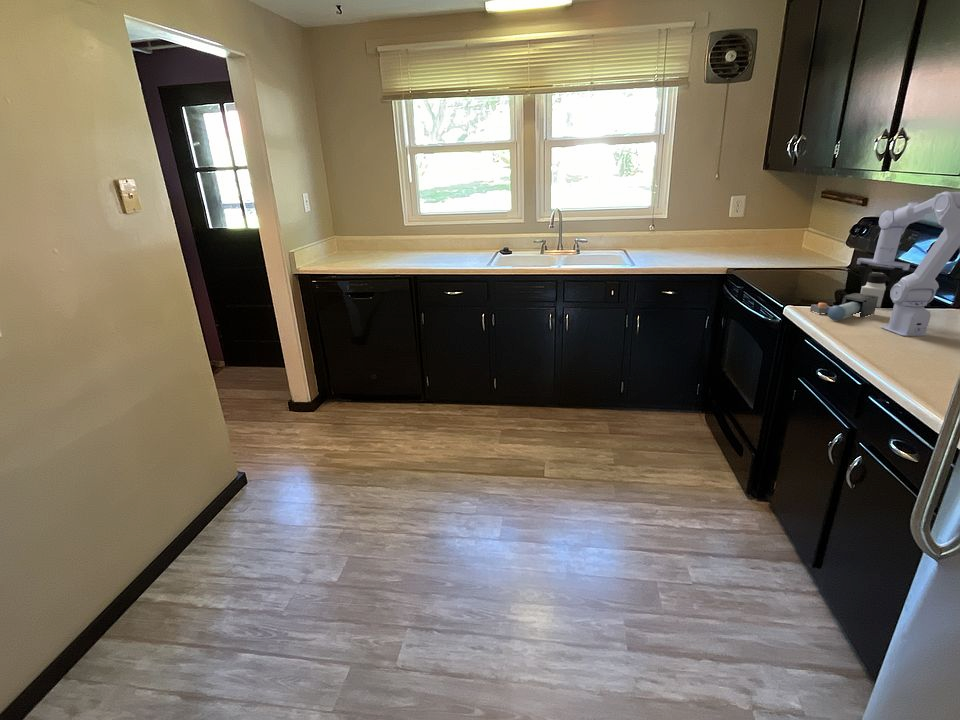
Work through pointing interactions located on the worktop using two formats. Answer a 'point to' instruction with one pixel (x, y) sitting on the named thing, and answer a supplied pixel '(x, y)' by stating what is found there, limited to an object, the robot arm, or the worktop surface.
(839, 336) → the worktop surface
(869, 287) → the medicine bottle
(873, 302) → the block
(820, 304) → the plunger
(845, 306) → the cylinder
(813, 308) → the block
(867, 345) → the worktop surface
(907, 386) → the worktop surface
